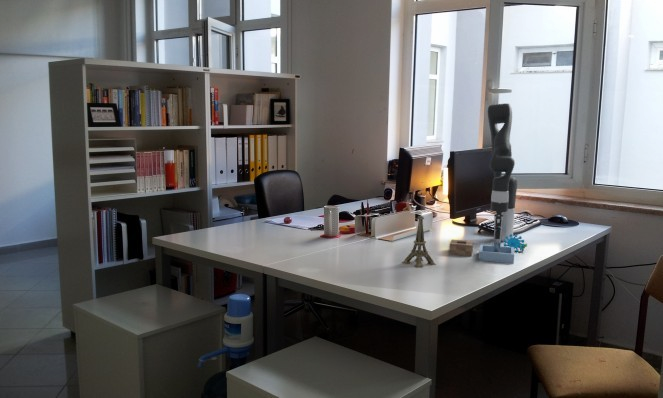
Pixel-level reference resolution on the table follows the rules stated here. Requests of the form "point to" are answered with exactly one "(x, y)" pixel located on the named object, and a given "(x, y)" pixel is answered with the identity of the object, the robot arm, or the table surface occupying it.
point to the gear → (515, 242)
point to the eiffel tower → (419, 247)
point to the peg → (497, 242)
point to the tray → (496, 254)
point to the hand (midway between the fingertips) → (497, 238)
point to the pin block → (461, 247)
